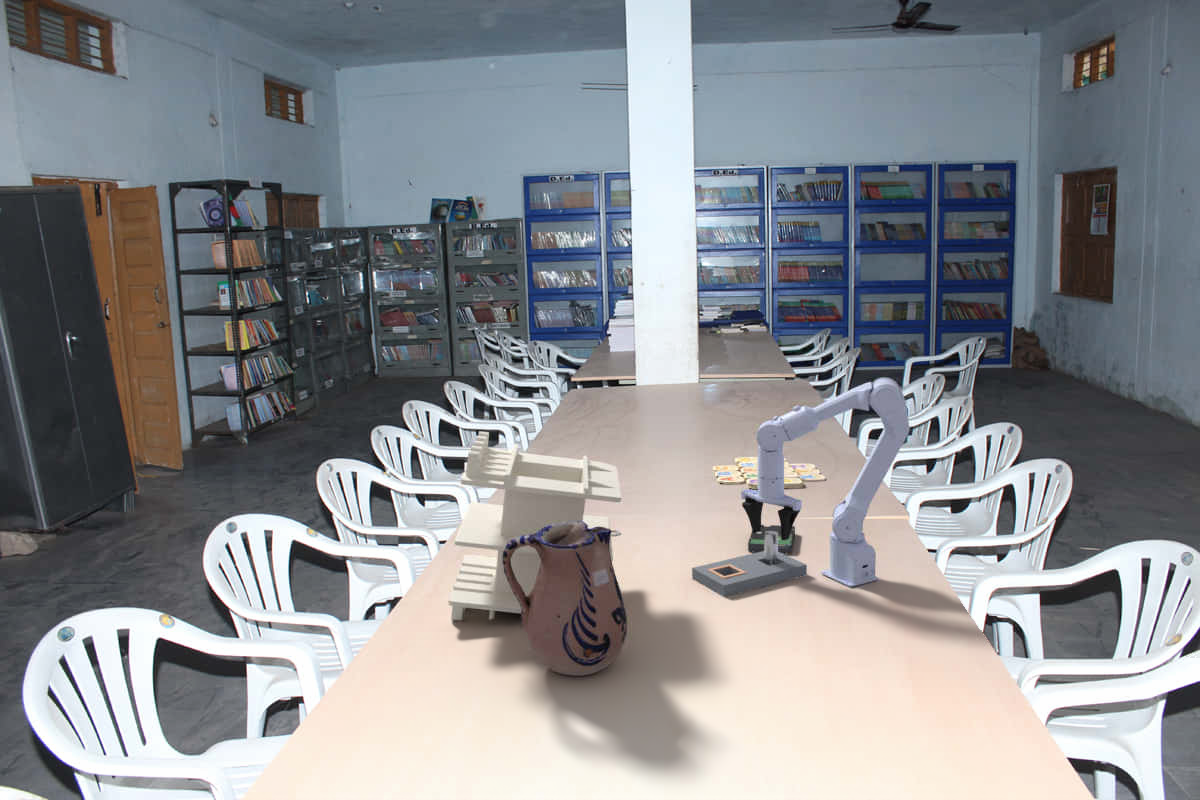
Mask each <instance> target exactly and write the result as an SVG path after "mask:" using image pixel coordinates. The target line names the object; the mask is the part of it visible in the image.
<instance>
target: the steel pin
mask: <svg viewBox="0 0 1200 800" xmlns="http://www.w3.org/2000/svg"><path fill="white" fill-rule="evenodd" d="M764 563H765V564H767V565H769V566H771V565H775V564H778V532H776V531H766V532H764Z"/></svg>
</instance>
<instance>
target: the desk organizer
mask: <svg viewBox="0 0 1200 800" xmlns="http://www.w3.org/2000/svg"><path fill="white" fill-rule="evenodd" d="M489 437H490V432H488V431H478V435H476V438H475V440H474V441H473V445H471V447H470V450H469V451H468V455H467V461H466V467H465V472H463V473H462V476H461V477H460V484H461V485H465V486H472V487H480V488H487V489H489V488H491V489H497V490H498V489H499V490H504V497H503V502H502V503H503V505H501V504H493V503H486V502H485V503H484V502H475V501H473V502H470V503H469V505H468V507H467V510H466V512H465V515H464V517H463V519H462V522H461V525H460V526H459V530H458V532H457V534H456V536H455V540H454V545H455V546H458V547H466V548H475V549H476V548H477V549H484V550H485V549H486V550H495V551H497V557H495V556H494V557H493V556H487V555H486V556H485V555H476V554H464V555H463V558H462V562H461V566H460V567H459V571H458V574H457V575H456V581H455V582H454V584H453V588H452V589H453V590H452V591H451V592H450V595H449V597H448V606H451V617H450V619H451V621H459V622H462V621H463V619H464V613H465V612H466V608H467V609H477V610H487V611H489V616H488V620H493V619H494V618H495V615H496V614H495V613H496V612H504V613H512V614H521V606H520V604H519V602H518V600H517V598H516V597H515V595H514V593H513V591H512V589H511V587H510V584H509V582H508V580H507V578H506V575H505V572H504V568H503V561H502V560H503V557H502V555H503V551H504V549H505V547H506V545H507V543H508V542H509V541H510V540H512V539H514V538H515V537H517V536H521V535H526V534H527V535H531V534H535V533H537V532H538V531H539V530H540V529H541V528H543V527H545V526H548V525H550V524H556V523H562V522H566V521H572V520H573V521H583V522H584V523H586V524H587V525H588V529H592V528H594V527H605V528H609V529H610V530H611V526H610V525H611V523H610V518H608V516H600V515H599V516H598V515H590V514H589V515H588V514H585V505H586V500H593V501H594V500H595V501H603V502H609V503H610V502H612V503H620V502H621V501H622V493H621V486H620V480H619V473H618V468H617V467H618V466H615V465H612V464H609V463H606V462H603V461H596V460H594V461H593V460H588V455H583V456H582V459H577V458H568V457H561V456H551V455H542V454H534V453H524V452H519V444H518V443H514V445H513V448H512V450H511V449H503V448H497V447H496V448H494V447H488V446H489V439H490V438H489ZM609 547H610V555H611V561H612V562H613V561H614V556H613V555H614V554H613V545H612V536H611V535H610V543H609ZM510 560H511V566H512V570H513V572H514V574H515V577H516V579H517V581H518V583H519V584H520V586H521V587H522V590H523V591H524V593H525V596H529V594H530V592H531V591H532V589H533V587H534V584H535V581H536V577H537V573H538V571H539V567H540V563H541V558H540V557H539V554H538V553H537V551H536V549H535V548H533V547H531V546H528V545H527V546H522V547H520V548H518V549H516V550H515V551H514V553H513V554H512V557H511V559H510Z"/></svg>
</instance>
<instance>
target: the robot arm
mask: <svg viewBox="0 0 1200 800" xmlns="http://www.w3.org/2000/svg"><path fill="white" fill-rule="evenodd" d="M869 406H871V408H872V409H873V411H874V412H875V413H876V414H877V415H878V416H879V417H880V420H881V422H882V424H883V427H884V428H883V430H882V432H881V433H880V435H879V437H878V439H877V441H876V443H875V444H874V446H873V449H872V450H871V452H870V454H869V455H868V457H867V460H866V461H865V463H864V466H863V467H862V469H861V471H860V473H859V475H858V476H857V478H856V480H855V482H854V483H853V485H852V487H851V489H850V491H849V492H848V493H847V494H846V496H845V497H844V499H843V500H842V501H841V502H839V503H838V504H836V505H835V507H834V509H833V510H832V519H833V520H832V525H831V529H832V531H831V532H830V535H829V540H830V541H829V543H830V544H829V569H826V570H825V569H824V570H821V573H820V574H822V575H823V576H826V577H828V578H830V579H832V580H835V581H836V582H839V583H841V584H843V585H846V586H848V587H849V588H850V587H852V588H853V587H856V586H860V585H864V584H868V583H870V582H873V581H874V582H875V581H878V580H879V577H878V576H876V563H877V561H876V557H877V556H876V550H875V548H874V547H873V546H872V545H871V544H870V543H869V542H868V541H867V540H866V538H865V532H863V531H864V530H863V529H864V521H865V518H866V517H867V515H868V512H869V508H870V505H871V503H872V501H873V499H874V498H875V495H876V493H877V492H878V490H879V489H880V487H881V485H882V482H884V480H885V477H886V476H887V473H888V472H889V470H890V468H891V466H892V464H893V462H894V461H895V459H896V457H897V455H898V454H899V452H900V449H901V448H902V446H903V444H904V442H905V441H906V439H907V437H908V435H909V432H910V430H911V429H910V423H909V415H908V408H907V401H906V399H905V396H904V393H903V392H902V390H901V388H900V386H899V384H898V383H897V381H895V380H894V379H892V378H890V377H879V378H877V379H875V380H874V381H873V382H872V381H869V382H866V383H863V384H860V385H858V386H856V387H853V388H850V389H849V390H847V391H845V392H844V393H841V394H839V395H838V396H835V397H833V398H831V399H829V400H827V401H825V402H823V403H821V404H819V405H817V406H815V407H811V406H808V405H803V406H800V405H798V404H797V405H795V406H794V407H792V410H791V411H790V412H787V413H785V414H783V415H781V416H778V415H775V416H773V418H772V419H773V420H772V419H771V420H766V421H764V422H763V423H761V425H760V426H759V428H758V431H757V433H756V442H757V445H758V447H757V452H758V454H757V458H758V490H753V489H748V488H744V489H742V490H741V491H740V492H741V495H740V497H741V500H745V501H743V502H742V504H741V505H742V506H741V507H742V508H743V510H744V511H745V513H746V515H747V518H748V521H749V523H750V526H751V532H752V531H753V533H757V532H759V531H760V530H761V525H762V513H763V512H762V511H763V506H764V504H767V505H768V504H769V505H773V506H777V507H781V509H779V510H777V514H778V519H779V523H780V526H781V539H782V540H784V541H785V540H787V539H789V537H790V533H791V529H792V526H794V523H795V521H796V519H797V517H798V514H799V513H800V512H801V509H802V505H803V503H802V500H800V499H797V498H794V497H793V496H789V495H787V494H785V489H784V458H785V455H784V443H785V442H787V443H788V442H791V441H794V440H796V439H799V438H801V437H804V436H806V435H808V434H810V433H812V432H814V431H816V430H817V429H818V426H819V424H820V422H823V421H825V420H829V419H830V418H833V417H835V416H839V415H840V414H843V413H845V412H847V411H850V410H853V409H856V410H857V409H858V410H861V411H862V410H863V411H867V412H868V411H870V409H869V408H870V407H869Z"/></svg>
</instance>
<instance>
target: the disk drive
mask: <svg viewBox="0 0 1200 800" xmlns="http://www.w3.org/2000/svg"><path fill="white" fill-rule="evenodd" d="M766 531H776V532H778V552H780V553H787V554H786V555H792V554H791V553H792V552H793V548H794V543H793V542H795V538H794V537H796V526H794V525H793V526H792V529H791V533H790V537H789V539H787V540H785V541H784V540H782V539H781V525H779V524H778V525H777V524H776V525H775V524H771V525H769V526H766V525H764V524H761V530H760V531H759V532H757V533H753V531H752V530H751V534H750V536H749V539H748V542H747V543H748V544H747V552H748V551H750V552H749V553H752V552H751V551H754V552H753V553H757V552H762V551H764V532H766Z"/></svg>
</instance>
